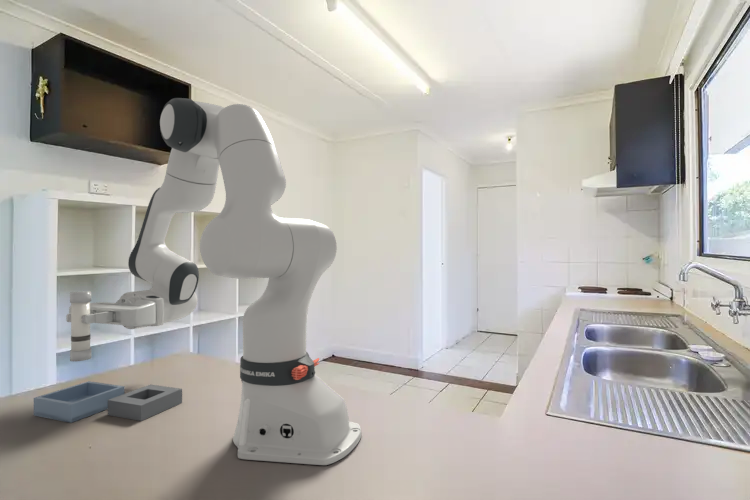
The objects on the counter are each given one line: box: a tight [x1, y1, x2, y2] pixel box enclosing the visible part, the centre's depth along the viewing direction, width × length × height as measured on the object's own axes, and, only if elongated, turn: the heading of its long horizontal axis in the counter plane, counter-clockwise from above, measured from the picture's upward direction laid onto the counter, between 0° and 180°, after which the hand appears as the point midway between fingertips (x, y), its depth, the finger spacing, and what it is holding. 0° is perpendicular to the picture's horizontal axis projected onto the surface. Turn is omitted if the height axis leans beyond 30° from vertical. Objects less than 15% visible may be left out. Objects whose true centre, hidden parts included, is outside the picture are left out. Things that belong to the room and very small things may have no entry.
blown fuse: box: [69, 290, 92, 362], centre depth 84 cm, size 4×4×14 cm
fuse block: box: [107, 383, 183, 422], centre depth 84 cm, size 9×10×3 cm
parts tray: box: [33, 380, 125, 424], centre depth 84 cm, size 11×11×4 cm
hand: (76, 319), depth 83 cm, fingers closed on blown fuse, 3 cm apart
